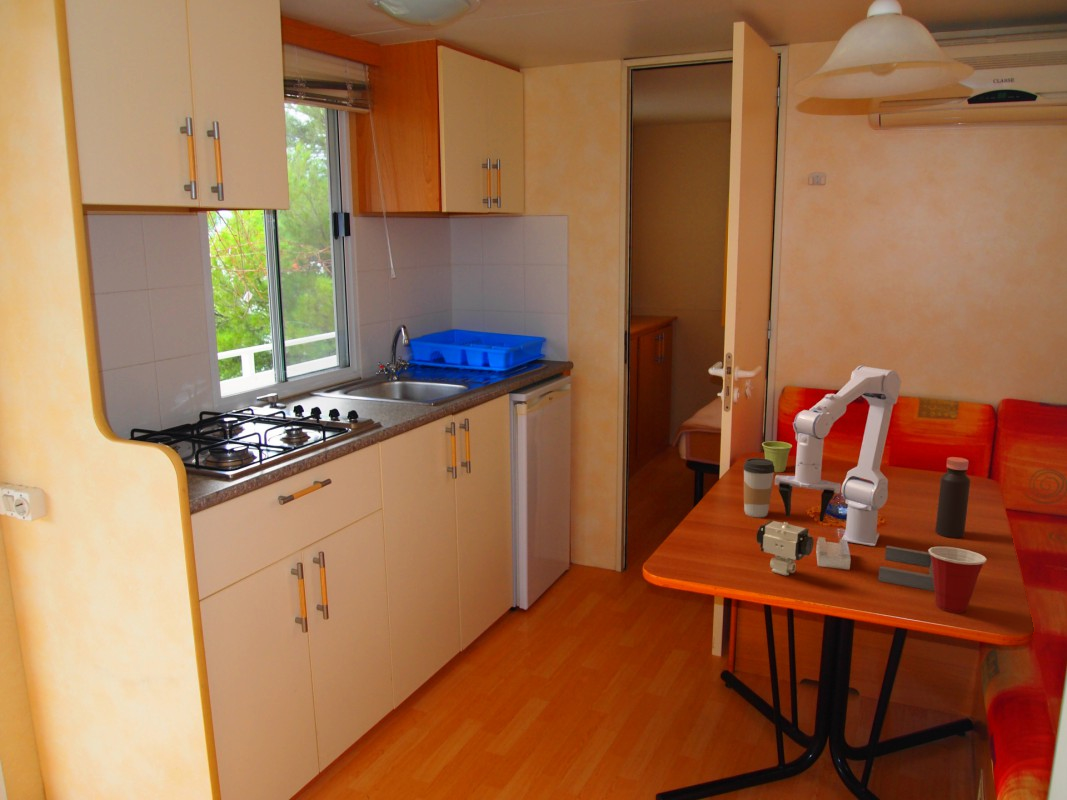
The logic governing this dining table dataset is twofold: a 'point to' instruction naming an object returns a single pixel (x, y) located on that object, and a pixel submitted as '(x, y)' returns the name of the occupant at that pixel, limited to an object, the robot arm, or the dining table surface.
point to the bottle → (953, 499)
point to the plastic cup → (954, 576)
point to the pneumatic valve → (784, 545)
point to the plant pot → (777, 454)
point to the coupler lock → (833, 554)
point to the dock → (907, 576)
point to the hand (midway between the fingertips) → (804, 517)
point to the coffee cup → (757, 486)
